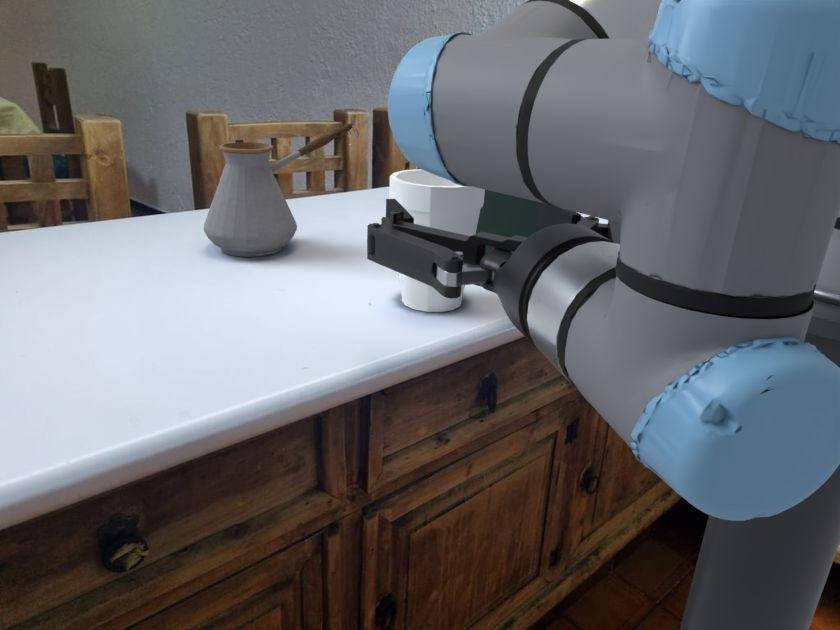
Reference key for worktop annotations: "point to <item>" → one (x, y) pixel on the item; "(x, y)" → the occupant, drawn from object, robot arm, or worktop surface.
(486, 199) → the waste bin
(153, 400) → the worktop surface
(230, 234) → the coffee pot
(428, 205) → the foam cup
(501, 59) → the robot arm
